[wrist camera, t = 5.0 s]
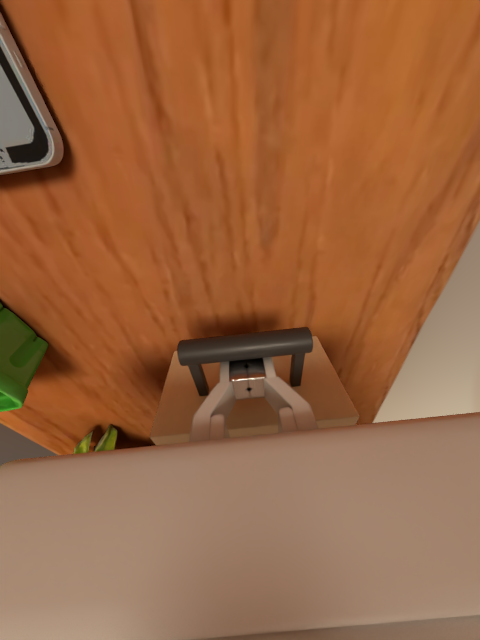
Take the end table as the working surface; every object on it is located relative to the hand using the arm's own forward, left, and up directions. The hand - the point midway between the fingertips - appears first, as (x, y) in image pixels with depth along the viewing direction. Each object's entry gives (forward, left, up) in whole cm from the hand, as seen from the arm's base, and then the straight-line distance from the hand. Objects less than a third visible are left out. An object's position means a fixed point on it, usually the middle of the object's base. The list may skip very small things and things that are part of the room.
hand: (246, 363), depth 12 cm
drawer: (0, +7, -4) cm, 8 cm away
